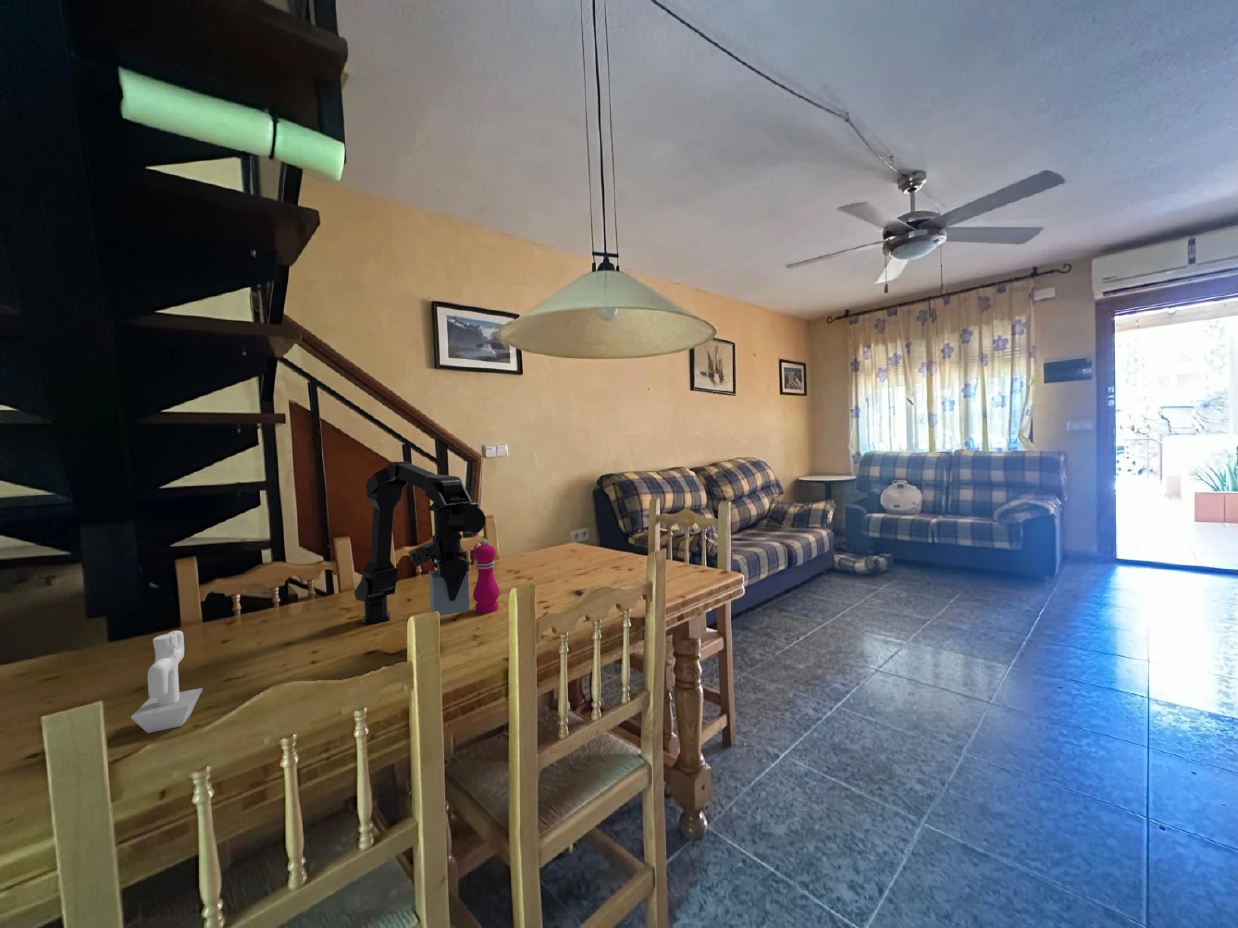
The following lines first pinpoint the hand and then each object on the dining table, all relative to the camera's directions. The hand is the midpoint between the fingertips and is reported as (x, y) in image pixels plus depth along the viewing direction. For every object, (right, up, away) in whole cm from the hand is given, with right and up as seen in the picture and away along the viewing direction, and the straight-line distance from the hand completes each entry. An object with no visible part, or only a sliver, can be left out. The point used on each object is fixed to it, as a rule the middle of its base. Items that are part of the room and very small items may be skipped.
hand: (449, 596), depth 116 cm
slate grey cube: (0, -3, 0) cm, 3 cm away
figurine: (-36, -13, -33) cm, 50 cm away
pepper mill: (+2, -10, +24) cm, 26 cm away
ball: (-11, -9, -6) cm, 15 cm away
